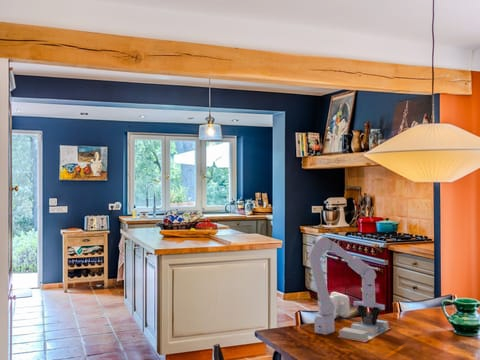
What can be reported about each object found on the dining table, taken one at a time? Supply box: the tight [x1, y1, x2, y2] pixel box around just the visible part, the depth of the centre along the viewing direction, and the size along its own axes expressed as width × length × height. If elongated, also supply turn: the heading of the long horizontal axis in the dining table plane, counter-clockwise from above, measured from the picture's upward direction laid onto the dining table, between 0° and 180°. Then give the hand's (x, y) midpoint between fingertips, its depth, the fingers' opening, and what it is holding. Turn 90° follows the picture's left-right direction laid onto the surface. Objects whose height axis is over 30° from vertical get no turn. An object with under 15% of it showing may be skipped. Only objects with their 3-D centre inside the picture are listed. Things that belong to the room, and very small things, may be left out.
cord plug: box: [363, 311, 373, 325], centre depth 221 cm, size 4×4×8 cm
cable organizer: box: [318, 291, 351, 320], centre depth 250 cm, size 15×11×12 cm
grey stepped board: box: [337, 318, 391, 343], centre depth 218 cm, size 26×13×4 cm, turn 139°
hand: (369, 323), depth 221 cm, fingers open, 4 cm apart
